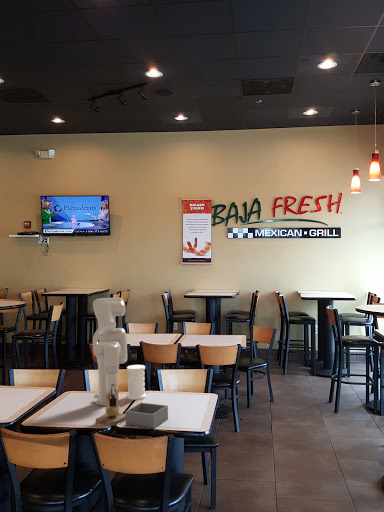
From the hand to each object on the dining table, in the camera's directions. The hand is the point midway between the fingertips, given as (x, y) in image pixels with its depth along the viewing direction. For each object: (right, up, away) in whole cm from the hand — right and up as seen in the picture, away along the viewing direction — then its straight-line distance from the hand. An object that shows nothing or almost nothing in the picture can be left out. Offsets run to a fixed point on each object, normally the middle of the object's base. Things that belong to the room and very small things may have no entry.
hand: (112, 404), depth 250 cm
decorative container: (+8, -9, +42) cm, 44 cm away
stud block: (0, -8, 0) cm, 8 cm away
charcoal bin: (+18, -8, -4) cm, 20 cm away
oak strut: (0, -5, 0) cm, 5 cm away
